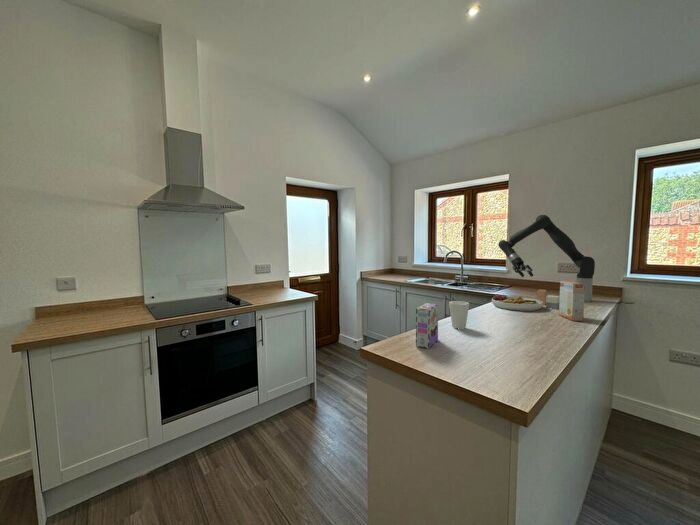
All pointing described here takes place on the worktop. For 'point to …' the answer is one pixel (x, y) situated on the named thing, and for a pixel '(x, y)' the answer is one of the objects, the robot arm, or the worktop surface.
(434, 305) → the candy box
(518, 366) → the worktop surface
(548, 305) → the tower base
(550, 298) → the tower top
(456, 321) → the foam cup
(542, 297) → the pillar
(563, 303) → the cracker box
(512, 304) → the bowl
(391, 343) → the worktop surface
